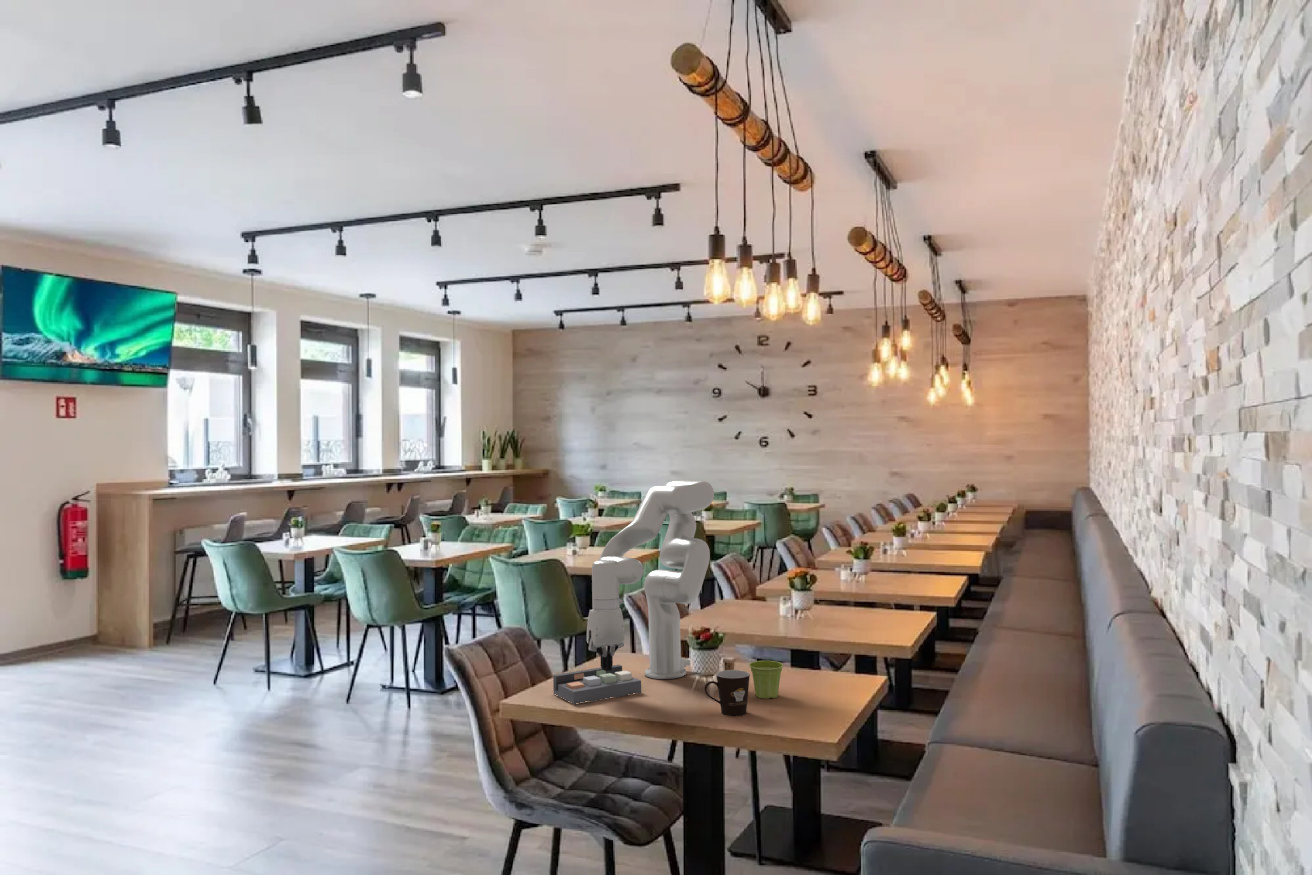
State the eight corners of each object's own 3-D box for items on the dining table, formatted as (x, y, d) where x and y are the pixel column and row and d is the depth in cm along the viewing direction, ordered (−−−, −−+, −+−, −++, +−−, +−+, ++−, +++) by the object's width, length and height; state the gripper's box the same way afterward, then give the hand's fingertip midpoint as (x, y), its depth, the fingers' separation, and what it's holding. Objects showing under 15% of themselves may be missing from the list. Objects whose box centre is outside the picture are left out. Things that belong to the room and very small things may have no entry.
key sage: (610, 681, 268) (610, 673, 268) (616, 684, 265) (616, 675, 265) (599, 683, 266) (598, 674, 266) (605, 686, 263) (604, 677, 263)
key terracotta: (578, 690, 263) (578, 681, 263) (584, 692, 260) (584, 684, 260) (566, 692, 261) (566, 683, 261) (572, 694, 258) (572, 686, 258)
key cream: (625, 678, 271) (625, 670, 271) (631, 681, 268) (631, 673, 268) (614, 680, 269) (614, 672, 269) (620, 683, 266) (620, 674, 266)
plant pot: (788, 693, 262) (787, 662, 262) (778, 702, 253) (777, 669, 253) (756, 690, 266) (755, 659, 266) (745, 698, 257) (744, 666, 257)
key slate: (594, 684, 266) (594, 675, 266) (600, 686, 263) (600, 678, 263) (583, 686, 264) (582, 677, 264) (588, 688, 261) (588, 680, 261)
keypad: (619, 683, 277) (618, 664, 277) (641, 692, 266) (641, 673, 266) (553, 694, 266) (553, 674, 266) (573, 704, 255) (573, 684, 255)
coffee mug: (750, 708, 248) (749, 670, 248) (750, 717, 239) (749, 678, 239) (706, 707, 249) (705, 669, 249) (704, 717, 240) (703, 678, 241)
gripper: (622, 600, 273) (623, 664, 273) (575, 605, 265) (576, 670, 265) (635, 603, 266) (636, 669, 266) (588, 608, 259) (588, 676, 258)
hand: (606, 669), depth 266 cm, fingers closed
